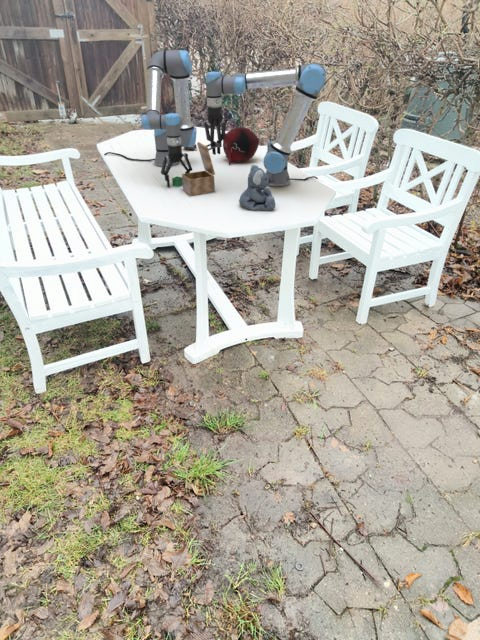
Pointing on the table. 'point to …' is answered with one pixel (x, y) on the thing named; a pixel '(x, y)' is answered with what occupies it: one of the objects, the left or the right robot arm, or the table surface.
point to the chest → (198, 183)
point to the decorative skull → (240, 144)
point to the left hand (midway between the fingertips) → (178, 184)
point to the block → (177, 181)
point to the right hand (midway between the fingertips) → (216, 153)
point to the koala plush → (257, 191)
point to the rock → (190, 147)
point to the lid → (207, 156)
